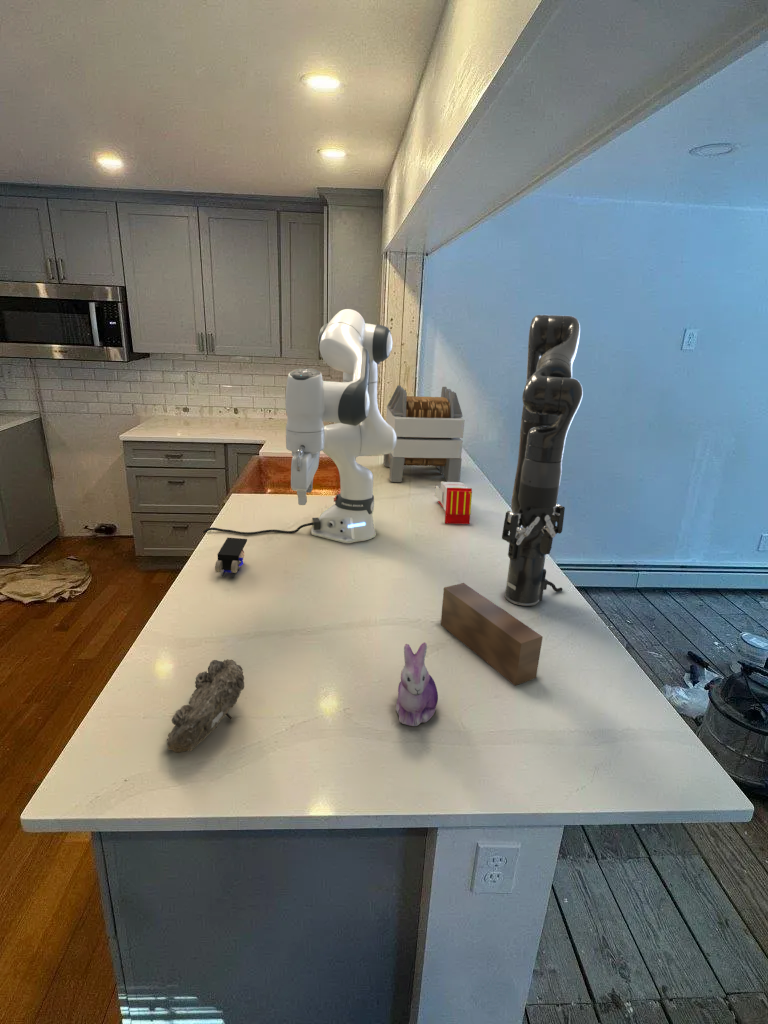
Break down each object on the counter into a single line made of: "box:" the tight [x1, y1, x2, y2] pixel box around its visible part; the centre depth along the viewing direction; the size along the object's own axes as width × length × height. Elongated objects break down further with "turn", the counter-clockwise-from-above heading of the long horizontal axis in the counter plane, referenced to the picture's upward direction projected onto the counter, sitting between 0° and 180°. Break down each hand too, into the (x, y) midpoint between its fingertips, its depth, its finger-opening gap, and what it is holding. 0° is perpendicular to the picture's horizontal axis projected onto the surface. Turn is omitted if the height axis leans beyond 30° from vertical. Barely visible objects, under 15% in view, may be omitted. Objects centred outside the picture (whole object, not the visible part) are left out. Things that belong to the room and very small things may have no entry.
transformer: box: [383, 384, 465, 483], centre depth 268 cm, size 34×33×41 cm
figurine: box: [395, 642, 439, 727], centre depth 109 cm, size 9×10×15 cm
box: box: [440, 582, 544, 686], centre depth 132 cm, size 28×6×10 cm, turn 30°
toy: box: [434, 481, 473, 525], centre depth 222 cm, size 12×13×30 cm
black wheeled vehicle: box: [214, 537, 248, 578], centre depth 166 cm, size 7×8×15 cm
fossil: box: [166, 658, 245, 754], centre depth 106 cm, size 22×10×15 cm
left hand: (305, 497), depth 136 cm, fingers open, 8 cm apart
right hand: (529, 556), depth 116 cm, fingers open, 8 cm apart
